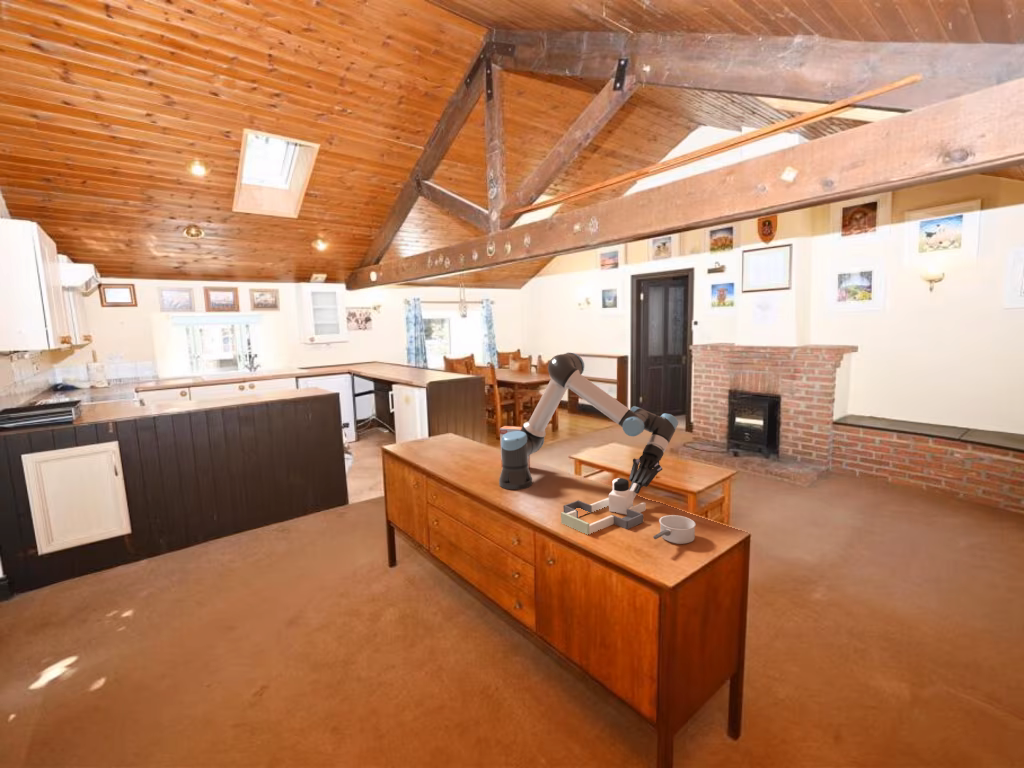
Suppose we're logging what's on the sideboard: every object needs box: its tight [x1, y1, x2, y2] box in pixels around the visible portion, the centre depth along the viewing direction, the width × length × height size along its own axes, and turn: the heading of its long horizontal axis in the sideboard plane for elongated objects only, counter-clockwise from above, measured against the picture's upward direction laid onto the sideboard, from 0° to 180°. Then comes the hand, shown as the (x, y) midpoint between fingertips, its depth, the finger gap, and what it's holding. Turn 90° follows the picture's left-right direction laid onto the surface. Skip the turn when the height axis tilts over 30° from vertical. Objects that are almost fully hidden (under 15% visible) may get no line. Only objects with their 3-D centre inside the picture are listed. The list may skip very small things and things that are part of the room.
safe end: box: [560, 511, 590, 536], centre depth 161 cm, size 1×13×4 cm, turn 37°
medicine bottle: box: [608, 477, 634, 516], centre depth 175 cm, size 7×7×12 cm
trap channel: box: [562, 497, 647, 535], centre depth 171 cm, size 31×25×3 cm
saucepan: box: [653, 514, 697, 545], centre depth 149 cm, size 12×20×6 cm, turn 133°
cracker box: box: [499, 425, 531, 469], centre depth 234 cm, size 14×6×21 cm, turn 63°
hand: (629, 499), depth 177 cm, fingers closed
